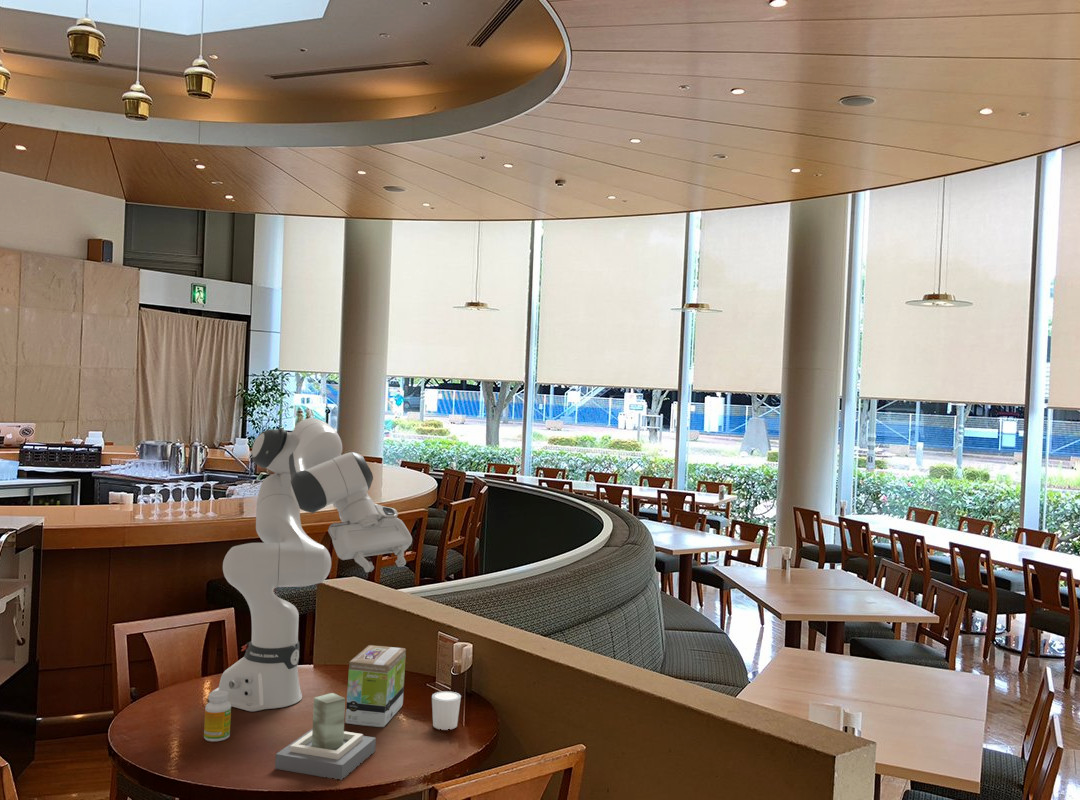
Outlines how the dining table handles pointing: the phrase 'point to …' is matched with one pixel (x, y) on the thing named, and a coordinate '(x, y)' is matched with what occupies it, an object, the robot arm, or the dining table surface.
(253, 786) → the dining table surface
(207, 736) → the supplement bottle
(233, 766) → the dining table surface
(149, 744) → the dining table surface
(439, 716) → the white cup
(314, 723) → the green block
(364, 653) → the tea box
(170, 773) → the dining table surface
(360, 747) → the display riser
